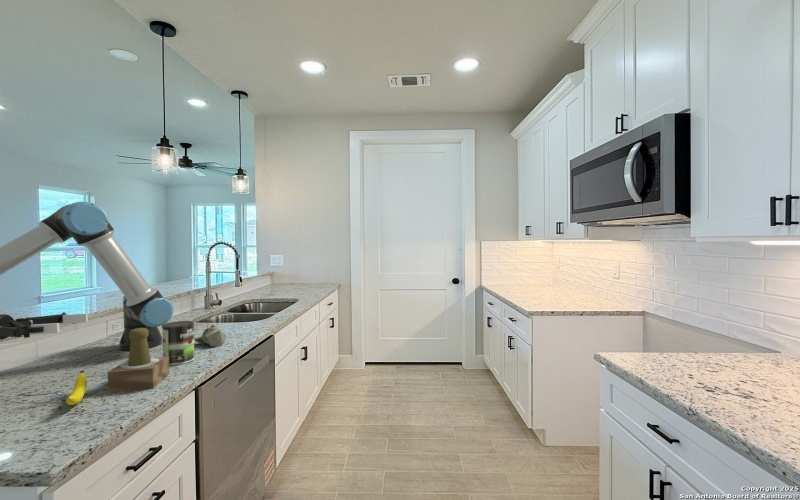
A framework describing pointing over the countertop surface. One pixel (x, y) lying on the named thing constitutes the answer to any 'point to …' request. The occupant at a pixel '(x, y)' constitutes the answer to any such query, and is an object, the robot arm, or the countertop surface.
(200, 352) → the countertop surface
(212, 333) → the ceramic sculpture
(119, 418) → the countertop surface
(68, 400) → the banana
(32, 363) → the countertop surface
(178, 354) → the coffee can
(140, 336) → the cork
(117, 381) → the walnut plinth
